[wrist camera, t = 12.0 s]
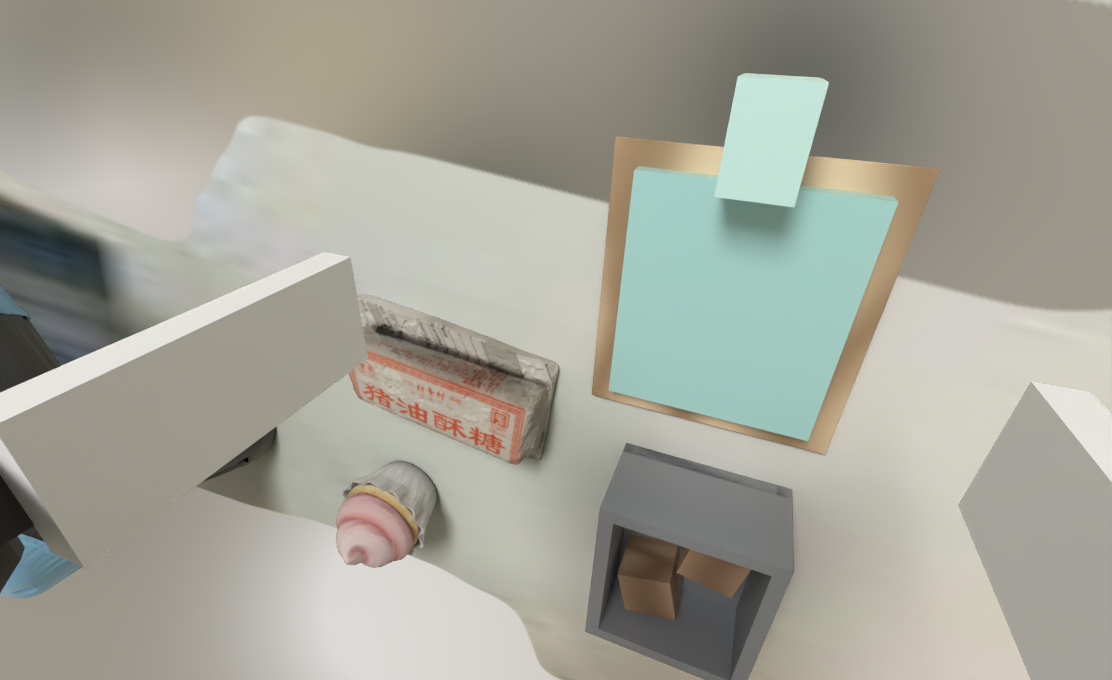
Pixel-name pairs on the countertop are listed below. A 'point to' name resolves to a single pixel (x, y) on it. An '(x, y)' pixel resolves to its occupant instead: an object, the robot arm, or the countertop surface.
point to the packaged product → (454, 380)
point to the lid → (745, 270)
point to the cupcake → (385, 515)
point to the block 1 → (651, 577)
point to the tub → (704, 526)
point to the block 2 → (711, 571)
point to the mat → (819, 172)
